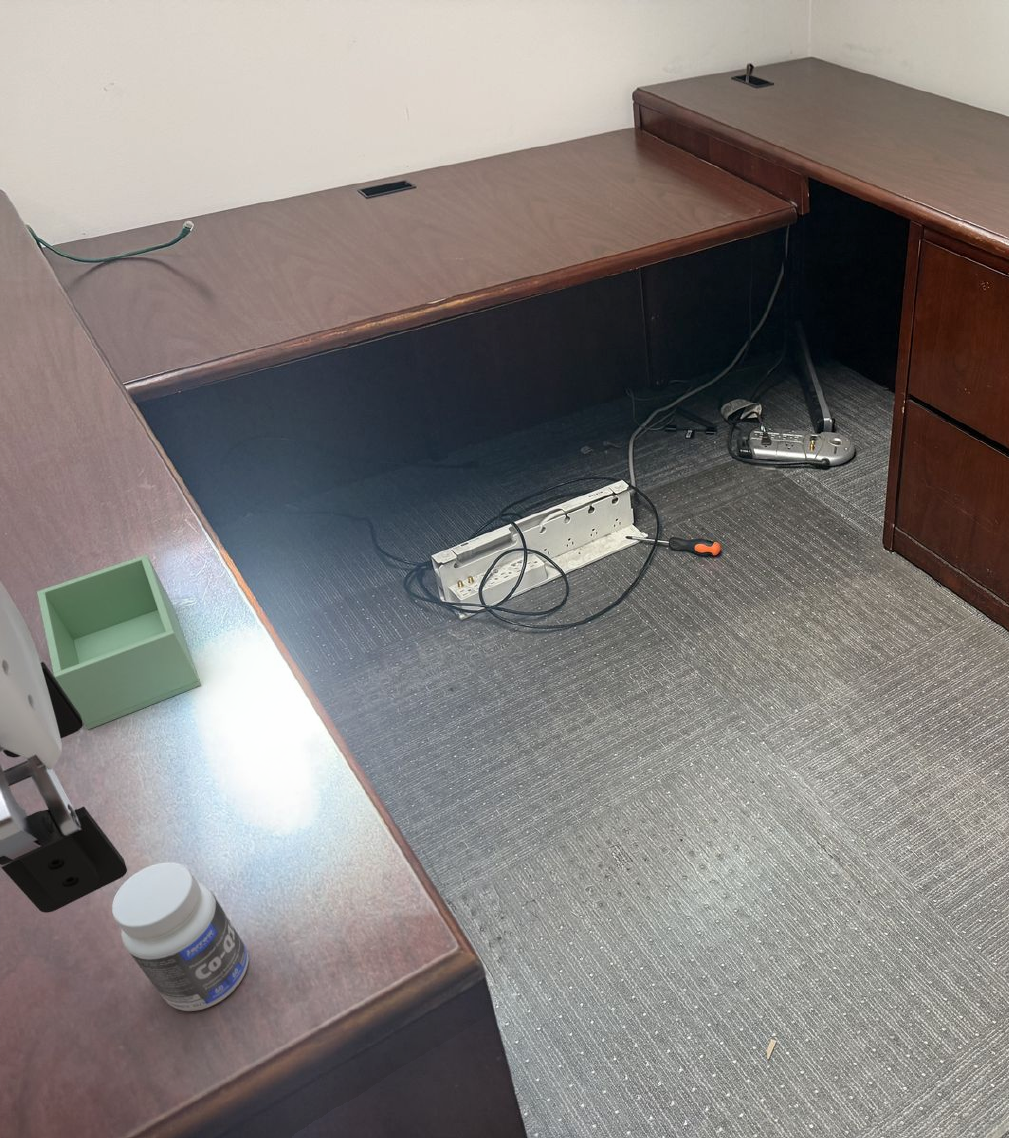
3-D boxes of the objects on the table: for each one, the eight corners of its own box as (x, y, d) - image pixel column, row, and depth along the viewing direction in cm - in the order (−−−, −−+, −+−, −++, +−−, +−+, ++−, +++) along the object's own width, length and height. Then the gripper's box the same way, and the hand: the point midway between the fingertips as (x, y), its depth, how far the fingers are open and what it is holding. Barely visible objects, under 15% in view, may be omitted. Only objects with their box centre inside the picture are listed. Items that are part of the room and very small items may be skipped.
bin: (201, 685, 78) (173, 632, 75) (88, 730, 75) (54, 677, 72) (173, 605, 86) (146, 554, 82) (68, 643, 82) (36, 591, 79)
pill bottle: (230, 1014, 59) (175, 934, 53) (149, 1013, 59) (84, 933, 53) (263, 937, 62) (214, 855, 57) (186, 936, 62) (129, 854, 57)
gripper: (-309, 419, 37) (-54, 728, 49) (-343, 706, 27) (-5, 1017, 38) (-71, 354, 41) (117, 658, 52) (-16, 587, 30) (206, 906, 41)
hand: (65, 809), depth 45 cm, fingers open, 9 cm apart
